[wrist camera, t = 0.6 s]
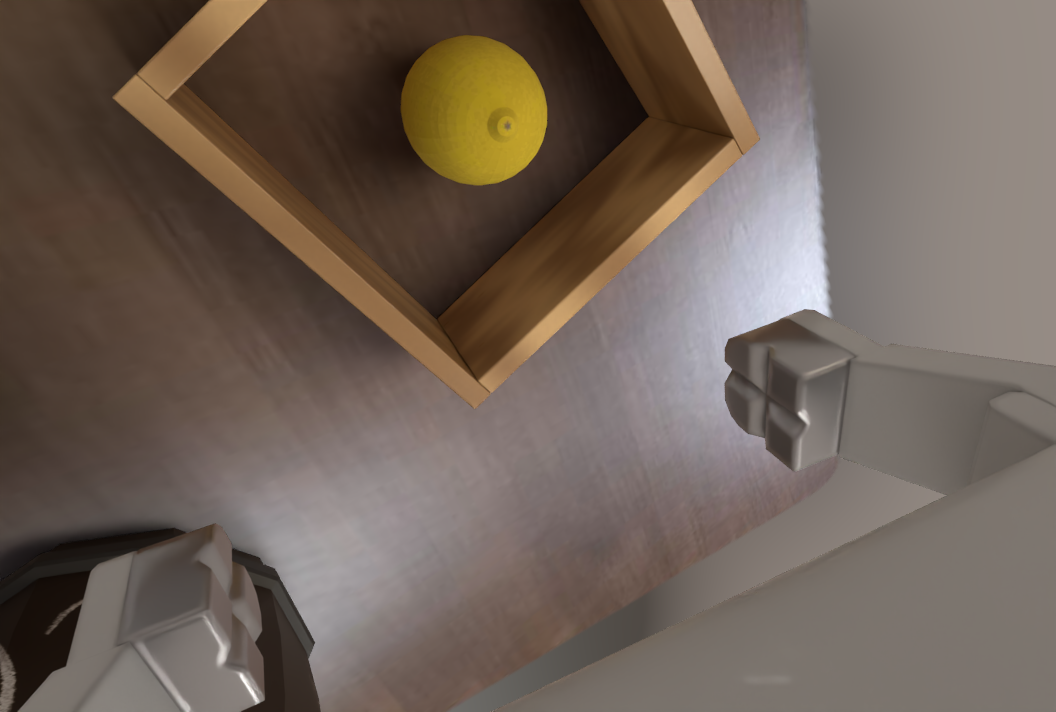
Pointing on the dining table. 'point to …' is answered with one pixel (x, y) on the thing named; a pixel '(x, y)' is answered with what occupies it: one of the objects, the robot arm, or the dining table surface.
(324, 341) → the dining table surface
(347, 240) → the crate
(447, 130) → the lemon
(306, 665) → the wooden barrel
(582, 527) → the dining table surface
